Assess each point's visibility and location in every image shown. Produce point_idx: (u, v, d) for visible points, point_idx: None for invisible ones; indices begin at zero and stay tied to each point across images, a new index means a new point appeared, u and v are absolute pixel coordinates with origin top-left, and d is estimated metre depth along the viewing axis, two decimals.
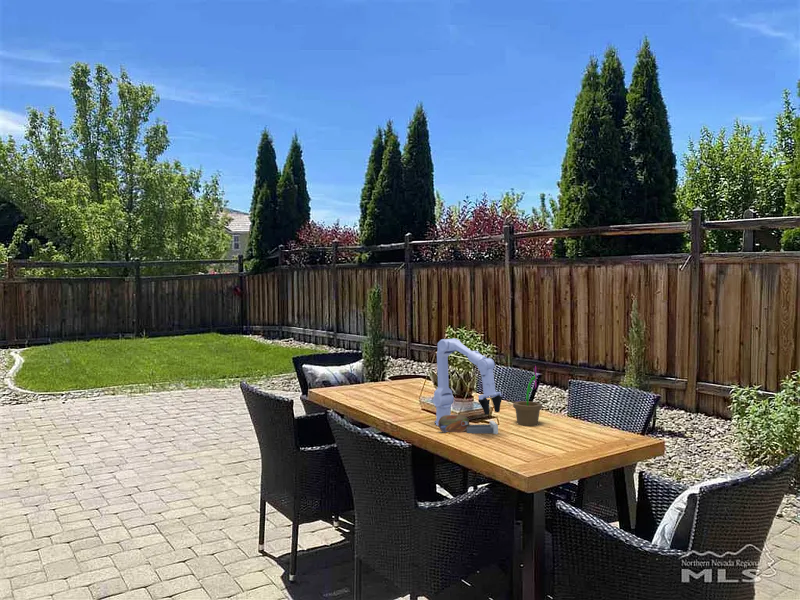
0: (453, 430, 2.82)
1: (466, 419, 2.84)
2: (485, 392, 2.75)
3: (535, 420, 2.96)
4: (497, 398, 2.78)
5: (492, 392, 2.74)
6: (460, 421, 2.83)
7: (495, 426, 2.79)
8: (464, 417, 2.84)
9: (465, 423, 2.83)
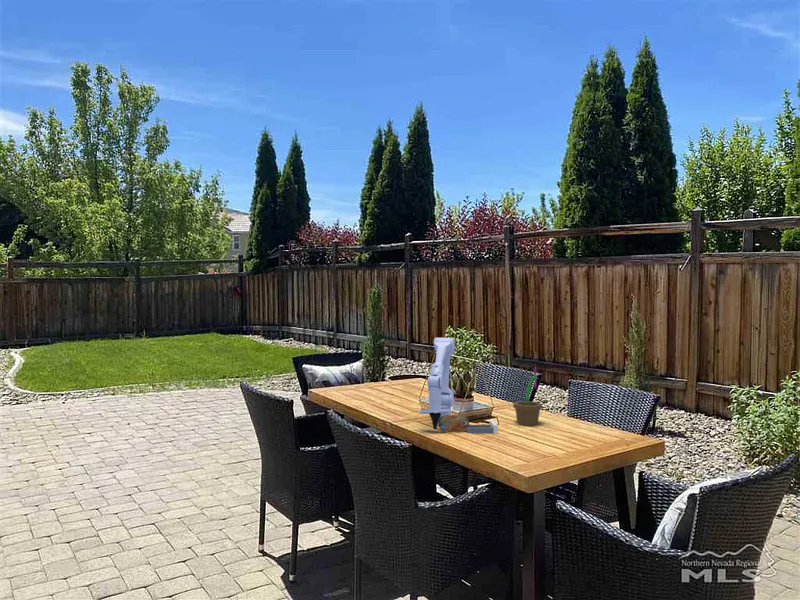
0: (453, 430, 2.82)
1: (466, 419, 2.84)
2: (429, 407, 2.83)
3: (535, 420, 2.96)
4: (435, 416, 2.82)
5: (433, 409, 2.80)
6: (460, 421, 2.83)
7: (495, 426, 2.79)
8: (464, 417, 2.84)
9: (465, 423, 2.83)
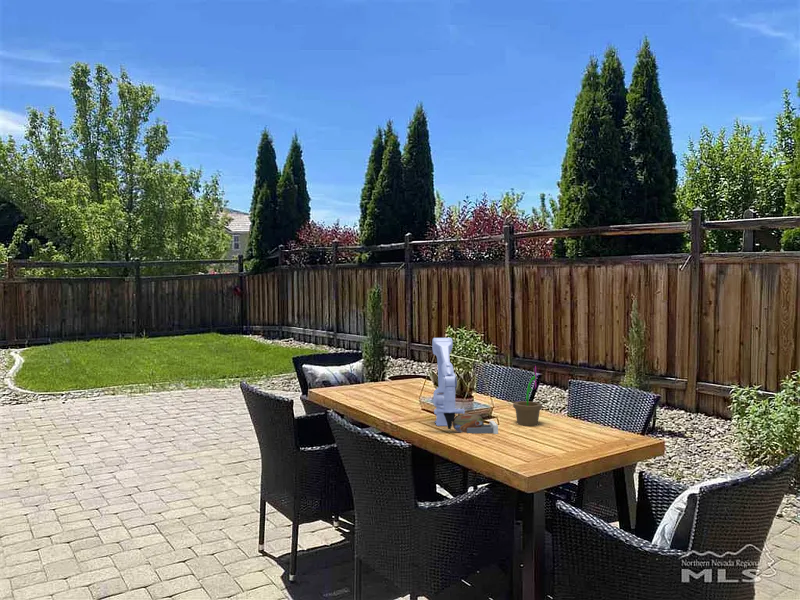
0: None
1: (480, 419, 2.84)
2: (443, 407, 2.83)
3: (535, 420, 2.96)
4: (449, 415, 2.82)
5: (447, 409, 2.81)
6: (474, 421, 2.83)
7: (495, 426, 2.79)
8: (478, 417, 2.84)
9: (479, 423, 2.83)
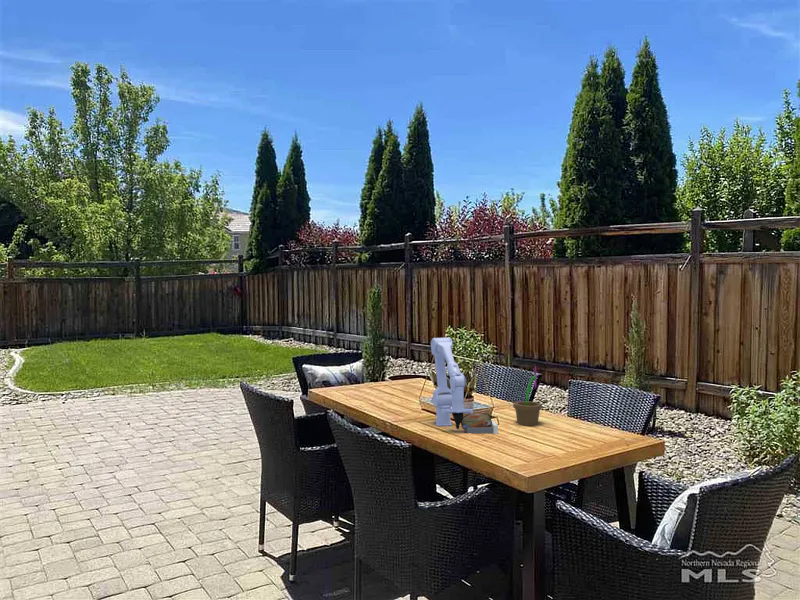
0: None
1: (489, 419, 2.84)
2: None
3: (535, 420, 2.96)
4: None
5: (456, 409, 2.81)
6: (483, 421, 2.83)
7: (495, 426, 2.79)
8: (487, 417, 2.84)
9: (488, 423, 2.83)
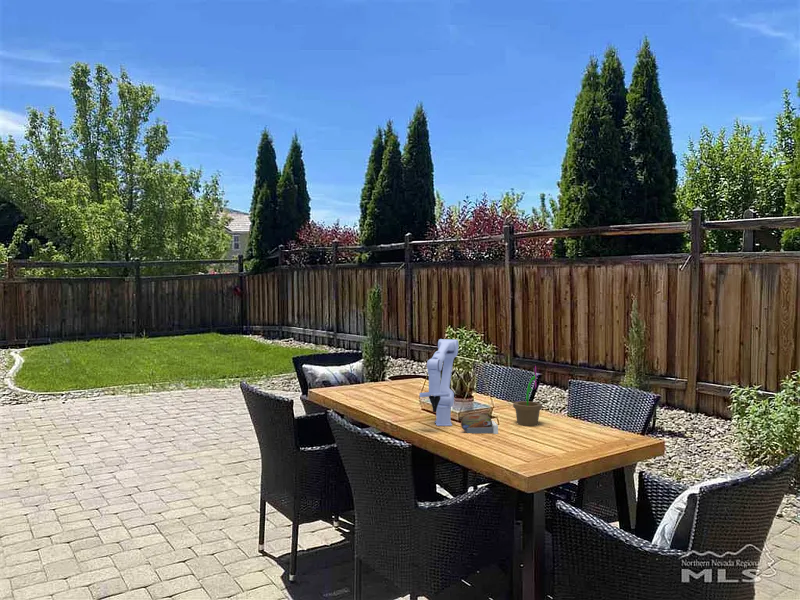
0: None
1: (489, 419, 2.84)
2: None
3: (535, 420, 2.96)
4: (435, 399, 2.84)
5: (432, 392, 2.82)
6: (483, 421, 2.83)
7: (495, 426, 2.79)
8: (487, 417, 2.84)
9: (488, 423, 2.83)
